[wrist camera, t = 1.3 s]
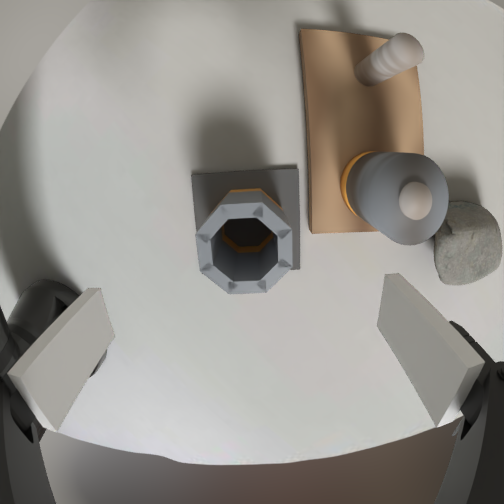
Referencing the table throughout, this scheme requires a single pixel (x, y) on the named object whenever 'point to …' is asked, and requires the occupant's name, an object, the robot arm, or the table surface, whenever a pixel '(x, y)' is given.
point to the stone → (467, 244)
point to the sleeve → (250, 257)
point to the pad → (270, 181)
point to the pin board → (368, 138)
